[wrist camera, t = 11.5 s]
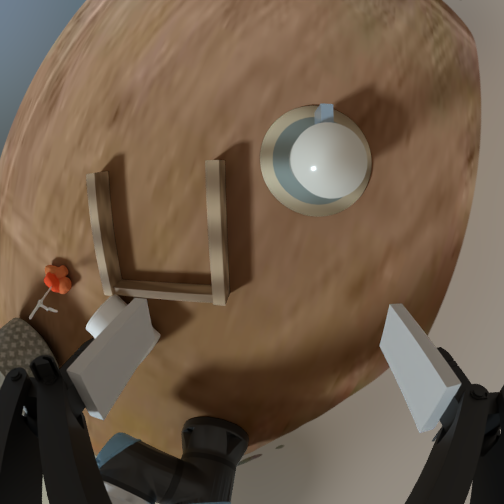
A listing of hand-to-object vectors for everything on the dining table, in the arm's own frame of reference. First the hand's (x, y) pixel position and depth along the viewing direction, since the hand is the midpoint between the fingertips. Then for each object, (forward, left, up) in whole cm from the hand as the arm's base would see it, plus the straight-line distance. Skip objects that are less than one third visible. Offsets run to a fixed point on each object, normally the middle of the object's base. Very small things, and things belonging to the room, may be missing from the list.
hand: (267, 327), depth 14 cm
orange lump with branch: (-10, +38, -23) cm, 45 cm away
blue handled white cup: (+10, -5, -22) cm, 24 cm away
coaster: (+8, -5, -22) cm, 24 cm away
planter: (-30, +58, -22) cm, 69 cm away
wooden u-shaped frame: (-1, +16, -22) cm, 27 cm away
